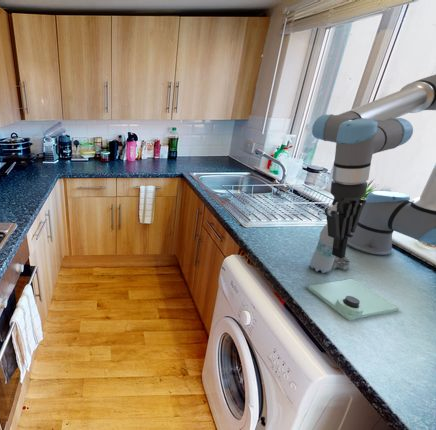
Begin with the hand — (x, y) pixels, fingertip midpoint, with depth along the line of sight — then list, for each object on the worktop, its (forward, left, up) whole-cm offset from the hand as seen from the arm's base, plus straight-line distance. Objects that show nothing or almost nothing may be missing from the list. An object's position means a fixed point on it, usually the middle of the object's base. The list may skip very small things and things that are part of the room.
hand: (338, 255), depth 85 cm
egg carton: (-18, -13, -14) cm, 26 cm away
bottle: (-9, -10, -14) cm, 19 cm away
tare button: (+1, +9, -11) cm, 14 cm away
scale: (-5, +5, -13) cm, 15 cm away
